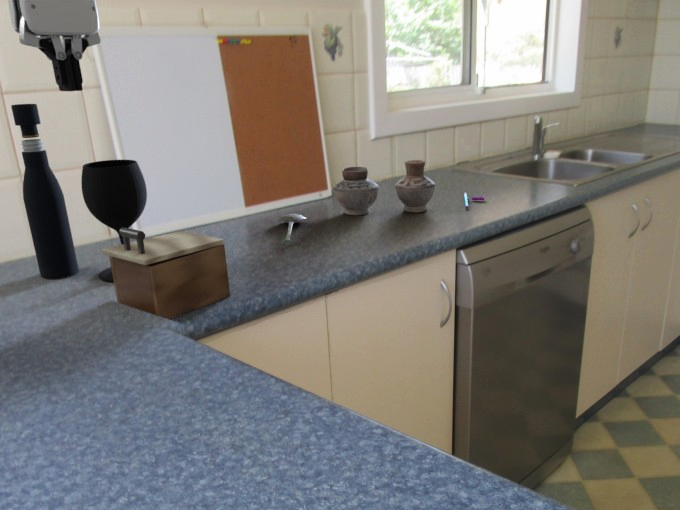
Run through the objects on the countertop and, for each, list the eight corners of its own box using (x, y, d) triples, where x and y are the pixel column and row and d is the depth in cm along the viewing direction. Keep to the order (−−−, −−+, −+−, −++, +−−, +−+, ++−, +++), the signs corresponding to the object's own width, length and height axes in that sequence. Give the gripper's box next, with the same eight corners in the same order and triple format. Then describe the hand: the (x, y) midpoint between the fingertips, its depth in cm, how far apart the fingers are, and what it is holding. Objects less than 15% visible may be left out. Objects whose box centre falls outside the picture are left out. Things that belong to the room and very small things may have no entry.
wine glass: (128, 285, 115) (107, 170, 108) (85, 278, 119) (63, 166, 112) (171, 268, 124) (155, 160, 117) (130, 262, 128) (112, 157, 121)
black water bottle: (53, 281, 118) (15, 106, 107) (33, 275, 121) (-6, 105, 111) (86, 271, 123) (52, 103, 112) (66, 266, 126) (32, 102, 116)
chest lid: (145, 265, 95) (141, 236, 93) (102, 254, 101) (98, 227, 99) (224, 244, 106) (221, 218, 105) (181, 235, 112) (179, 210, 110)
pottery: (439, 214, 159) (439, 164, 155) (334, 219, 156) (331, 168, 152) (431, 204, 169) (431, 156, 165) (333, 208, 167) (330, 161, 163)
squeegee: (486, 205, 163) (466, 205, 163) (486, 208, 163) (466, 208, 164) (482, 192, 177) (464, 192, 177) (482, 195, 177) (464, 195, 178)
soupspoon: (308, 223, 156) (280, 225, 156) (306, 209, 155) (278, 211, 155) (302, 245, 136) (270, 248, 135) (300, 229, 134) (268, 232, 134)
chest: (160, 323, 99) (151, 267, 96) (118, 309, 105) (108, 255, 101) (230, 295, 109) (224, 244, 106) (189, 284, 115) (182, 235, 112)
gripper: (81, -50, 93) (104, 87, 99) (-33, -62, 82) (2, 93, 88) (112, -56, 89) (134, 88, 95) (-3, -69, 77) (31, 95, 84)
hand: (71, 90), depth 92 cm, fingers closed
